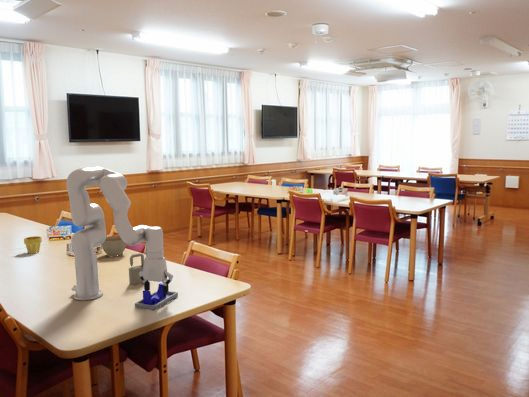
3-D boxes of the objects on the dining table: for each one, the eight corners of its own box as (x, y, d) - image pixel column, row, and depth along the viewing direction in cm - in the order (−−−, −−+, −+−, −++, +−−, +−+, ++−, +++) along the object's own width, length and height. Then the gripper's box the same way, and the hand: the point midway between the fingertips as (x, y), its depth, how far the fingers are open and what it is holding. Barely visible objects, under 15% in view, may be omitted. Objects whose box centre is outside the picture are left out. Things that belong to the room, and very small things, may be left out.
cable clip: (151, 305, 194) (150, 292, 193) (143, 304, 196) (142, 291, 195) (168, 297, 204) (168, 284, 204) (161, 295, 206) (160, 283, 206)
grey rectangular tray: (134, 307, 194) (134, 303, 193) (159, 294, 210) (158, 289, 210) (154, 310, 190) (154, 306, 190) (177, 296, 207) (177, 292, 206)
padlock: (128, 283, 226) (127, 254, 224) (143, 280, 232) (142, 251, 230) (132, 285, 223) (130, 256, 221) (147, 281, 229) (146, 253, 227)
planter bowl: (101, 253, 289) (100, 236, 288) (127, 251, 294) (126, 234, 292) (100, 259, 274) (99, 242, 272) (128, 257, 279) (127, 239, 277)
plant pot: (45, 251, 295) (44, 237, 294) (30, 255, 286) (29, 240, 285) (36, 249, 301) (35, 235, 299) (21, 253, 292) (20, 238, 291)
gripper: (133, 255, 197) (135, 292, 199) (166, 258, 191) (168, 297, 193) (143, 251, 204) (145, 287, 206) (176, 254, 198) (177, 291, 200)
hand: (156, 292), depth 200 cm, fingers open, 9 cm apart
